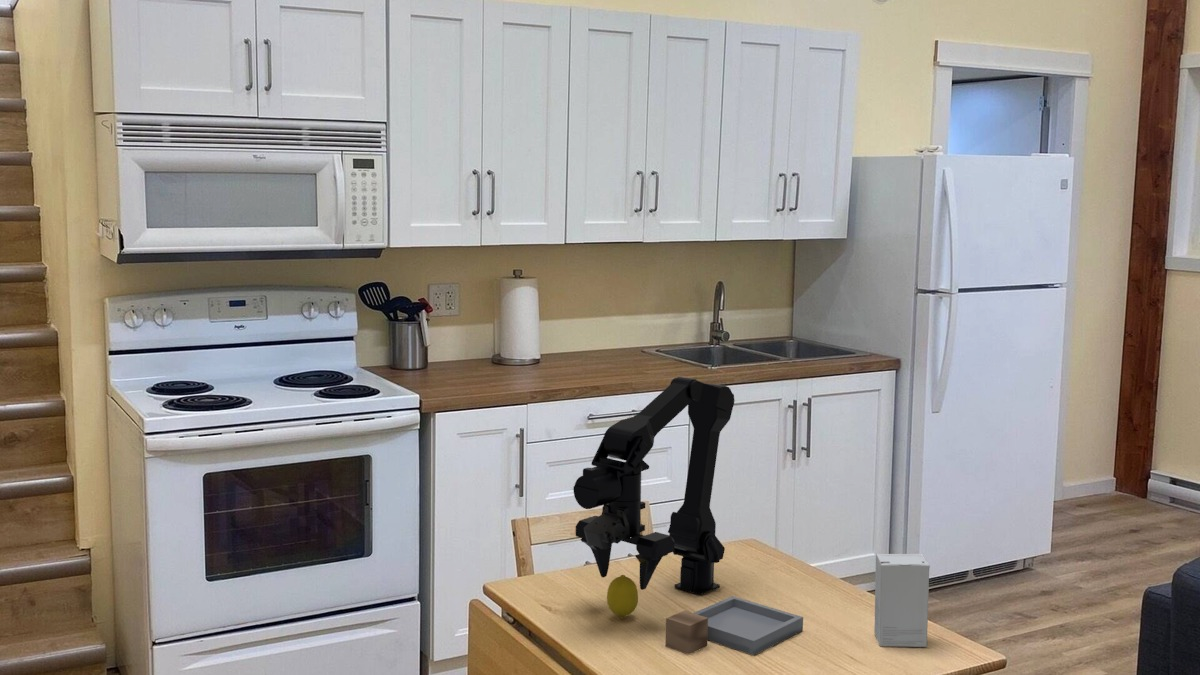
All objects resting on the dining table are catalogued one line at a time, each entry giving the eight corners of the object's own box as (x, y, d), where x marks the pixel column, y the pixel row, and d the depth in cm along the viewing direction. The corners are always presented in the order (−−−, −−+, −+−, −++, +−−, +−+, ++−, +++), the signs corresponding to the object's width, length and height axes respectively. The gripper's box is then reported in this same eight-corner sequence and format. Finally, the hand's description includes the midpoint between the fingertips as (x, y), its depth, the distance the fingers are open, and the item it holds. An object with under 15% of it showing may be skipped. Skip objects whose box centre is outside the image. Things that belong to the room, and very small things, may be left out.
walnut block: (683, 638, 203) (684, 610, 202) (707, 646, 200) (707, 617, 199) (665, 646, 199) (666, 618, 199) (689, 654, 196) (689, 625, 195)
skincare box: (920, 635, 206) (924, 552, 204) (927, 649, 200) (932, 564, 198) (871, 633, 206) (875, 551, 204) (877, 647, 200) (881, 562, 198)
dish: (732, 609, 217) (732, 596, 216) (802, 630, 207) (803, 617, 207) (681, 631, 206) (682, 617, 205) (753, 655, 196) (753, 641, 195)
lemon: (634, 625, 208) (635, 581, 207) (603, 622, 209) (604, 578, 208) (640, 614, 214) (640, 571, 213) (609, 611, 215) (610, 568, 214)
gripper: (554, 496, 209) (553, 581, 211) (635, 517, 196) (633, 608, 199) (597, 484, 217) (595, 567, 219) (677, 504, 205) (675, 591, 207)
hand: (623, 583), depth 211 cm, fingers open, 9 cm apart
